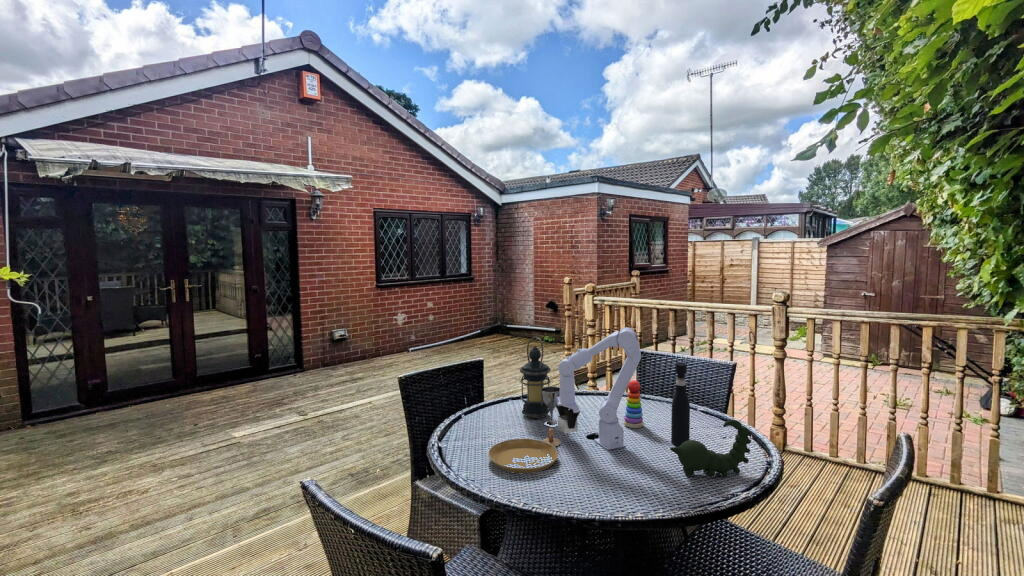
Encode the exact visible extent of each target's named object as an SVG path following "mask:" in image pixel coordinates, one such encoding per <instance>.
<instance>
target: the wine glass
mask: <svg viewBox="0 0 1024 576" xmlns="http://www.w3.org/2000/svg"><path fill="white" fill-rule="evenodd" d="M557 397H560V386H552V385H551V386H550V385H549V386H548V385H547V386H544V387H543V388H542V398H543V402H544V404H545V405H546V406H547V407H548V409H549V410H550V412H549V413H550V420H547V421H548V422H547V424H549V425H555V424H557V422H558V421H557V422H555V421H556V420H554V419H553V417H554V416H553V414H554V411H555V409H556V405H557V403H558V402H557Z"/></svg>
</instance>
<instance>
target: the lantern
mask: <svg viewBox="0 0 1024 576" xmlns="http://www.w3.org/2000/svg"><path fill="white" fill-rule="evenodd" d="M534 339H538V340H539V343H540V346H541V351H540V349H539V348H538V346H536V345H535V346H533V347H532V348H531V349H530V350H529V348H530V347H529V346H530V343H531V341H532V340H534ZM543 345H544V344H543V342H542V339H541V338H540V337H539V336H533V337H531V338H530V339H529V340H528V342H527V346H526V356H527V363H525V364H524V365H523V366H521V367H520V369H519V373H521V374H522V376H521V379H520V381H519V382H520V383H521V396H520V400H521V401H522V402H524V403H523V405H522V406H523V407H522V411H521V413H522V415H524V416H526V417H527V418H534V419H539V418H545V417H546V416H547V415H548V414H549V413H550V410H549V408H548V407H547V406H546V405H545V404H544V402H543V398H542V388H543V387H545V385H547V387H548V386H550V383H551V379H550V377H549V376H548V374H549V373H550V372H551V368H550V367H549V365H547V364H546V363H544V362H543V359H544V346H543ZM545 380H546V381H547V382H544V381H545ZM524 381H526V382H527V383H525V382H524ZM524 385H525V386H526V388H527V391H526V392H527V393H525V394H524V391H523V390H524ZM524 397H527V398H526V399H524Z"/></svg>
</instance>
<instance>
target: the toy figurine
mask: <svg viewBox="0 0 1024 576" xmlns="http://www.w3.org/2000/svg"><path fill="white" fill-rule="evenodd" d="M728 426H729V427H733V428H734V429H735V430H736V431H737V434H736V435H735V437H734V440H735V441H734V442H733V443H732V447H731V449H730V450H729V452H727V453H721V452H720V453H719V452H718V453H717V452H715V450H710V449H708V448H707V447H706V445H705V444H704V443H702V442H700V441H698V440H693V439H690V440H688V441H685V442H684V443H682V444H681V445H680V447H678V446H674V447H670V448H669V450H670V451H671V452H672V453H674V454H676V455H677V458H678V461H679V462H680V464H681V465H682V472H684V474H685V475H686V476H688V477H692V476H694V475H695V472H701V471H704V472H706V475H707V476H708V477H710V478H714V477H715V476H716V473H717V474H720V475H721V477H722V478H724V479H727V478H728V476H729V471H733V474H736V475H738V474H740V472H741V469H740V468H739V464H741V463H742V462H743V463H744V464H748V463H749V461H750V460H749V458H748V457H746V455H745V454H750V452H751V448H748V446H747V445H749V444H751V443H752V439H750V438H749V436H752V431H750V430H749V428H748V427H746V426H743V425H742V423H741V422H740V421H739V420H736V419H728V420H727V421H725V422H724V423H723V425H722V427H723V428H726V427H728Z"/></svg>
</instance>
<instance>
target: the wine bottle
mask: <svg viewBox="0 0 1024 576" xmlns="http://www.w3.org/2000/svg"><path fill="white" fill-rule="evenodd" d="M687 366H688V365H687V364H686V363H684V362H676V363H675V374H677V376H676V377H677V379H676V380H675V390H674V391H675V392H674V395H673V397H672V401H671V424H670V425H671V426H670V427H671V428H670V430H671V432H670V433H671V434H670V435H671V436H670V437H671V438H670V441H671V442H670V443H671V445H673V446H674V447H680V445H681V444H682V443H684V442H685V441H688V440H691V439H690V436H691V435H690V429H691V428H690V425H691V423H690V422H691V421H690V419H691V414H690V413H691V412H690V411H691V405H690V400H689V399H690V398H689V396H688V394H687V384H686V378H685V377H686V374H687V372H688V371H687V370H688V369H687Z"/></svg>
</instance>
